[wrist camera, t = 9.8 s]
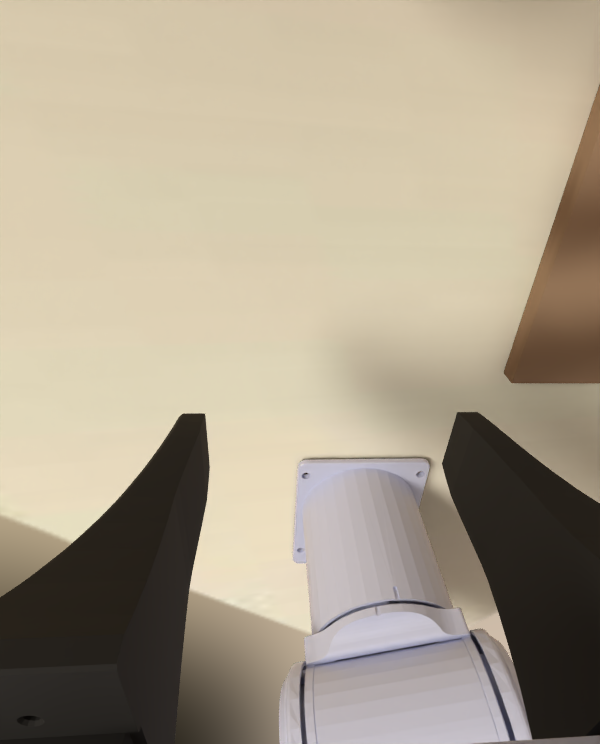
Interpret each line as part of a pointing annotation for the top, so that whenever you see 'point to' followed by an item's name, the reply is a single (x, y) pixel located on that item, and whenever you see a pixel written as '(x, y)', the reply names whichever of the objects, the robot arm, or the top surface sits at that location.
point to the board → (566, 282)
